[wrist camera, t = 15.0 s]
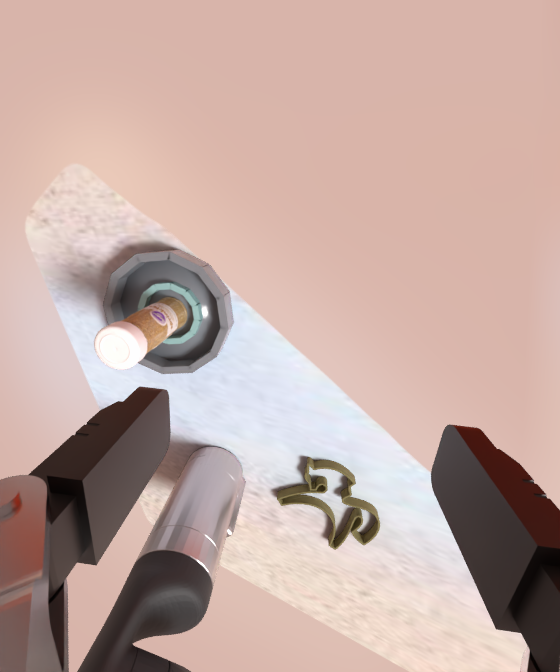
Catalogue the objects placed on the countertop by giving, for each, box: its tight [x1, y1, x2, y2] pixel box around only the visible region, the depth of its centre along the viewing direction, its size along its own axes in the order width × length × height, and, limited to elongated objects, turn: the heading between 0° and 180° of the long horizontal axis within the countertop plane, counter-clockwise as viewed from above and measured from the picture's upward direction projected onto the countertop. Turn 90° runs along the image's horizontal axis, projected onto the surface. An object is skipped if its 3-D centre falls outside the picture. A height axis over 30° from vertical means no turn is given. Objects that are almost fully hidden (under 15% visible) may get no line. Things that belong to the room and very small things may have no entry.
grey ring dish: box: [103, 249, 234, 374], centre depth 43 cm, size 16×16×3 cm
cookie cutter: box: [277, 457, 380, 550], centre depth 52 cm, size 18×12×2 cm, turn 44°
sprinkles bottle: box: [94, 297, 187, 370], centre depth 37 cm, size 5×5×14 cm
